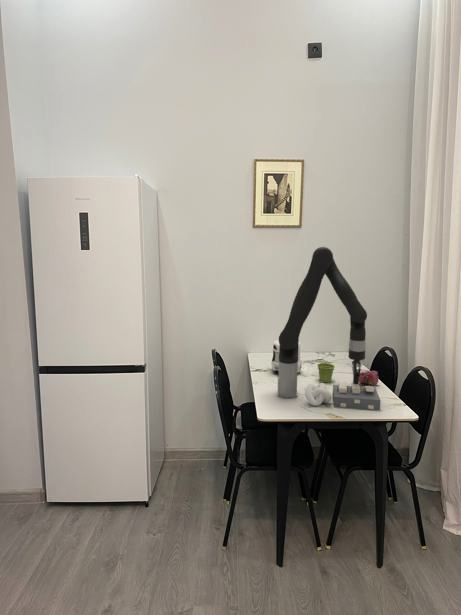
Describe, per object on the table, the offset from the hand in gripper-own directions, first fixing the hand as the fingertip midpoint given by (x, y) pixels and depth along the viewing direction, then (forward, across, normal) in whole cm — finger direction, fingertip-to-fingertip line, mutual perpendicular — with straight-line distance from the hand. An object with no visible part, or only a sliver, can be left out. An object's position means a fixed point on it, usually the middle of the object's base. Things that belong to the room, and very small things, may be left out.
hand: (355, 383), depth 191 cm
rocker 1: (+1, +3, -6) cm, 7 cm away
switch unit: (+8, +3, 0) cm, 9 cm away
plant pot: (+8, -24, -13) cm, 29 cm away
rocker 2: (+1, +3, 0) cm, 3 cm away
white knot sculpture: (+8, +8, -18) cm, 22 cm away
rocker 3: (+1, +3, +6) cm, 7 cm away
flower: (+9, -22, +8) cm, 25 cm away
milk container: (+8, -35, -35) cm, 50 cm away
